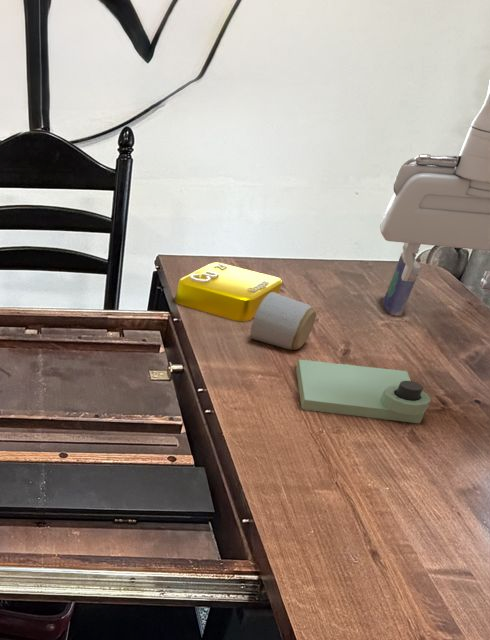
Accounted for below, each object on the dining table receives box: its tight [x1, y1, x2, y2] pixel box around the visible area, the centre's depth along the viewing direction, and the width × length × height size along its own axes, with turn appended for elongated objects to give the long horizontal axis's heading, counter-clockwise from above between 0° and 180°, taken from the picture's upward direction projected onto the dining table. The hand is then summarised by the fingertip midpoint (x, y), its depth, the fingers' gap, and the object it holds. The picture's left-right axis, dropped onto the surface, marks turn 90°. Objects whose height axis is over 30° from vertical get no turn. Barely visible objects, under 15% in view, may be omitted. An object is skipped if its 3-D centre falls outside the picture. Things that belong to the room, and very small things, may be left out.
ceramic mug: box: [250, 292, 317, 351], centre depth 118 cm, size 11×8×8 cm
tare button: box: [395, 380, 424, 401], centre depth 99 cm, size 3×3×2 cm
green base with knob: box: [295, 359, 432, 424], centre depth 105 cm, size 16×15×4 cm
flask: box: [382, 248, 422, 317], centre depth 129 cm, size 9×3×11 cm, turn 164°
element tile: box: [174, 261, 283, 322], centre depth 132 cm, size 15×15×5 cm
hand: (446, 284), depth 91 cm, fingers open, 8 cm apart
